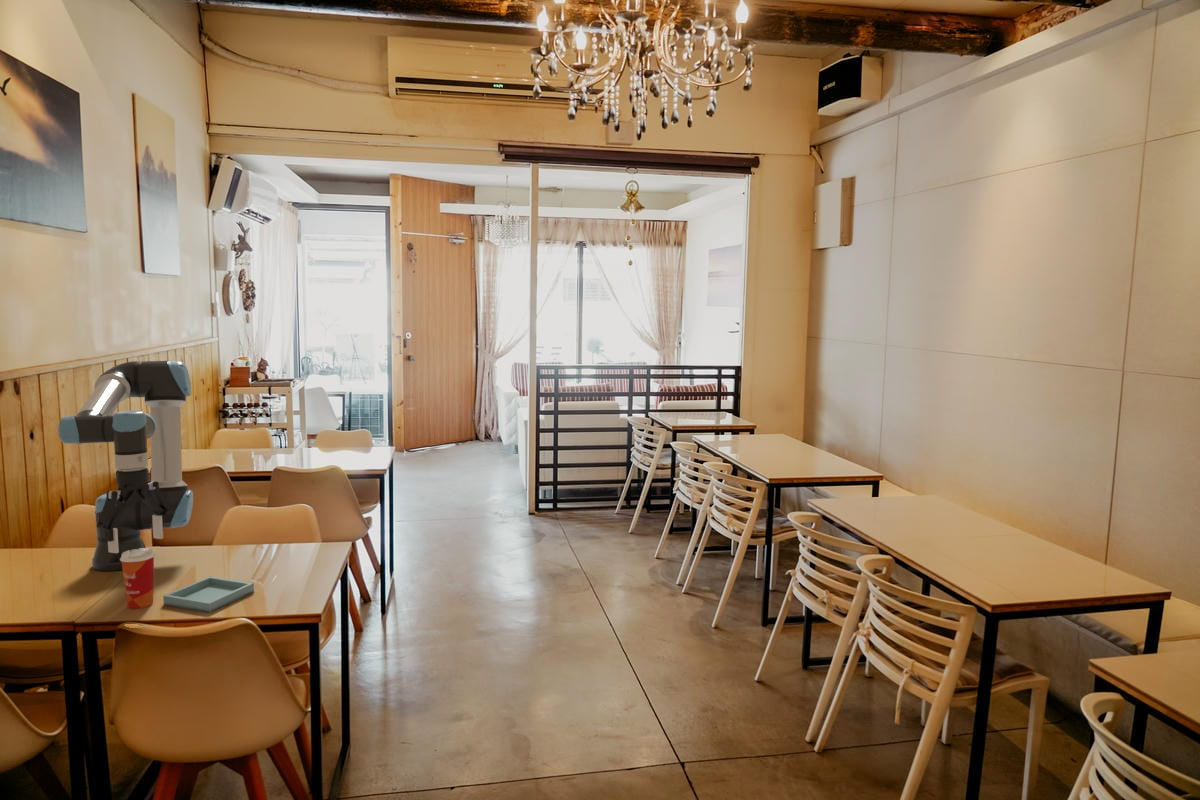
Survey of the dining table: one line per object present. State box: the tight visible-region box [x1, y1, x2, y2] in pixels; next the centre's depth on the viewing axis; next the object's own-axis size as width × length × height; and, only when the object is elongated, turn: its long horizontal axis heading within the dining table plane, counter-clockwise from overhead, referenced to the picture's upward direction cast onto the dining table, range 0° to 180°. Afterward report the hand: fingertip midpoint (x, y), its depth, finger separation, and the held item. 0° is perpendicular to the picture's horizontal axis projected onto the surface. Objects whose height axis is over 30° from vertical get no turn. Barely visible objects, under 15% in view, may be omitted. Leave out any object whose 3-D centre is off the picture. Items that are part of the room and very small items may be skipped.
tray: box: [163, 576, 255, 614], centre depth 211 cm, size 16×16×3 cm
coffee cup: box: [120, 547, 156, 610], centre depth 205 cm, size 8×8×15 cm
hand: (136, 545), depth 203 cm, fingers open, 13 cm apart
